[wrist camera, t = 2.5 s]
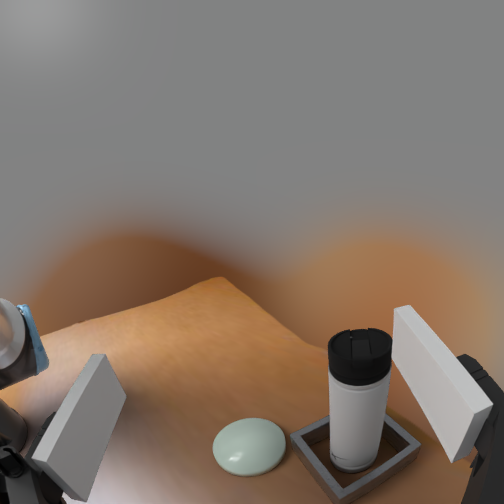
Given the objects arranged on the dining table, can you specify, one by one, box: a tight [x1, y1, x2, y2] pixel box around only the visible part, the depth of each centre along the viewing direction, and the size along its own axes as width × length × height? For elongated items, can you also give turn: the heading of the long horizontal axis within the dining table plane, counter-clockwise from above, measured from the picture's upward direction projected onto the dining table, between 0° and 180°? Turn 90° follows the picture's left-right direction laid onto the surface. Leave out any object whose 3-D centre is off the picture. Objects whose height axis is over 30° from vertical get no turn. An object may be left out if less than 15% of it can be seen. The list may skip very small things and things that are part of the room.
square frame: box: [290, 413, 421, 504], centre depth 33 cm, size 12×12×4 cm
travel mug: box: [328, 328, 393, 473], centre depth 30 cm, size 6×7×20 cm
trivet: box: [213, 418, 286, 477], centre depth 38 cm, size 10×10×1 cm
